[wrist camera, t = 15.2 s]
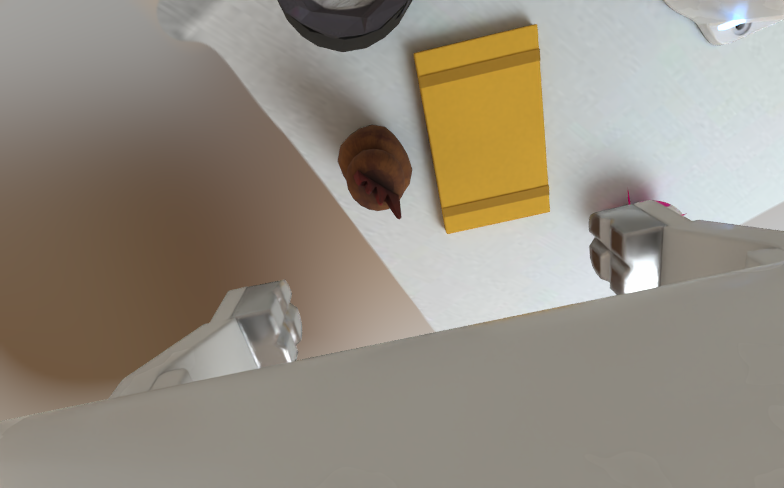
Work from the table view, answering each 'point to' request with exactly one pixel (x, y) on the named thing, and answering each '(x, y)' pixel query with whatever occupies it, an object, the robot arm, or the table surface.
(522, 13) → the table surface
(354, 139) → the wooden figurine
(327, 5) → the portable speaker
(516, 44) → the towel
